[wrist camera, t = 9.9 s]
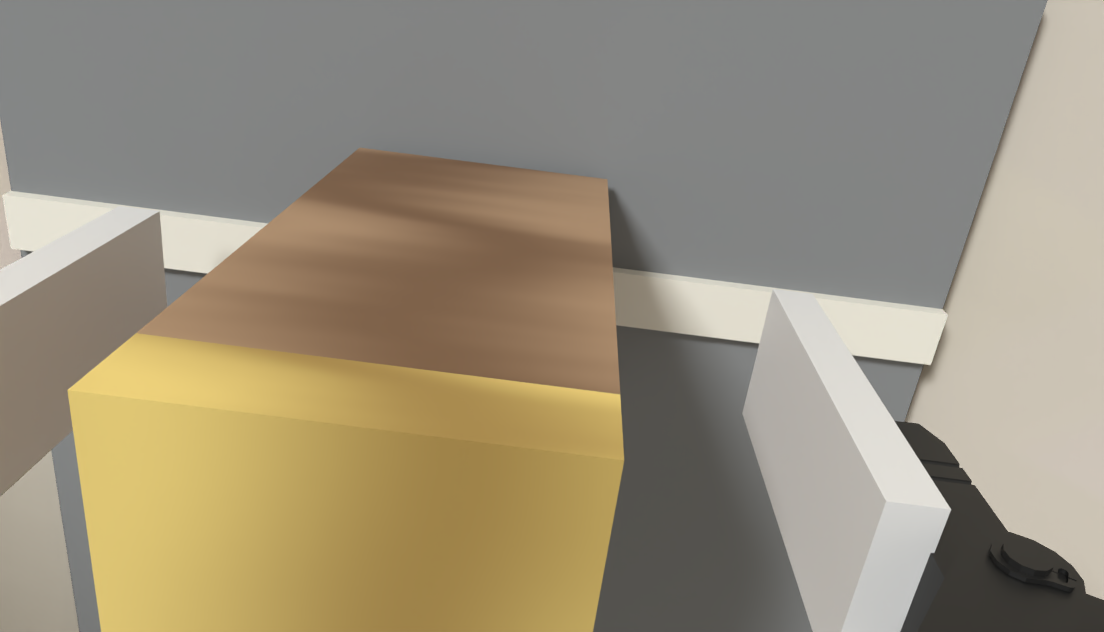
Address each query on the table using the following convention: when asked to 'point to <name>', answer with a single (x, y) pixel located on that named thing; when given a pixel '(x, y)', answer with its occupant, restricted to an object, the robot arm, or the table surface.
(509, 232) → the block
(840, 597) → the robot arm
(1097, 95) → the table surface
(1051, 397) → the table surface
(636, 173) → the mat
